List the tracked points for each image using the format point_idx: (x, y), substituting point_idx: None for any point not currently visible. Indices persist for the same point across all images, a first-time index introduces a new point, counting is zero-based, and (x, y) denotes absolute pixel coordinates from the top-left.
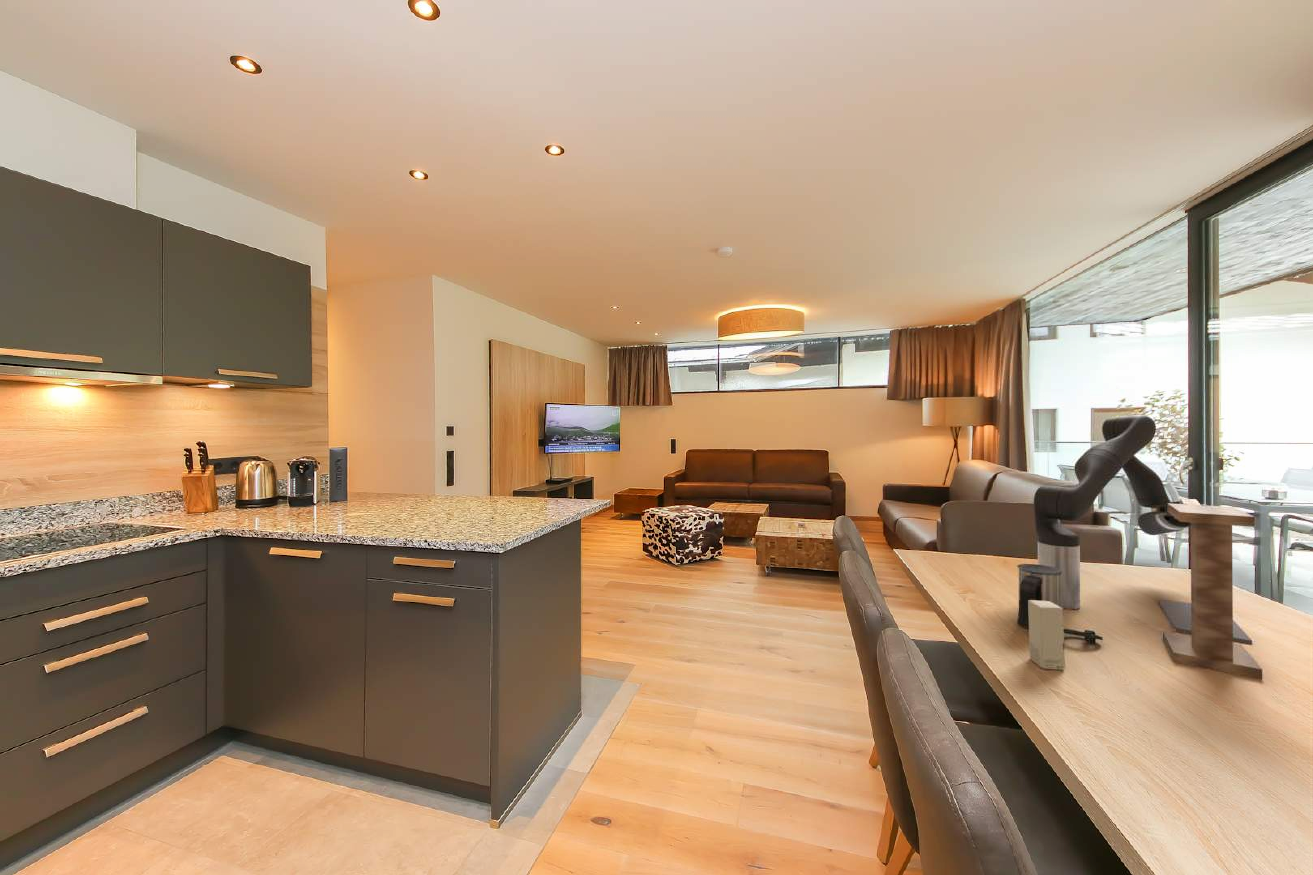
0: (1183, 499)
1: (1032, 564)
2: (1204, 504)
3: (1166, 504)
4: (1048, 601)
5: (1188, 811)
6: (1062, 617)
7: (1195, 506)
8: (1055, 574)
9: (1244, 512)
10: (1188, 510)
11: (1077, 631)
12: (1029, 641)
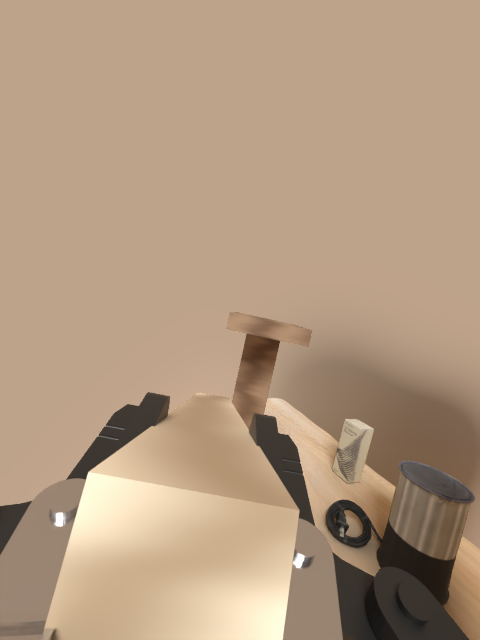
0: (257, 491)
1: (463, 498)
2: (159, 394)
3: (412, 578)
4: (361, 427)
5: (271, 406)
6: (343, 426)
7: (277, 322)
8: (401, 464)
9: (234, 312)
10: (286, 323)
11: (348, 500)
12: (363, 466)
